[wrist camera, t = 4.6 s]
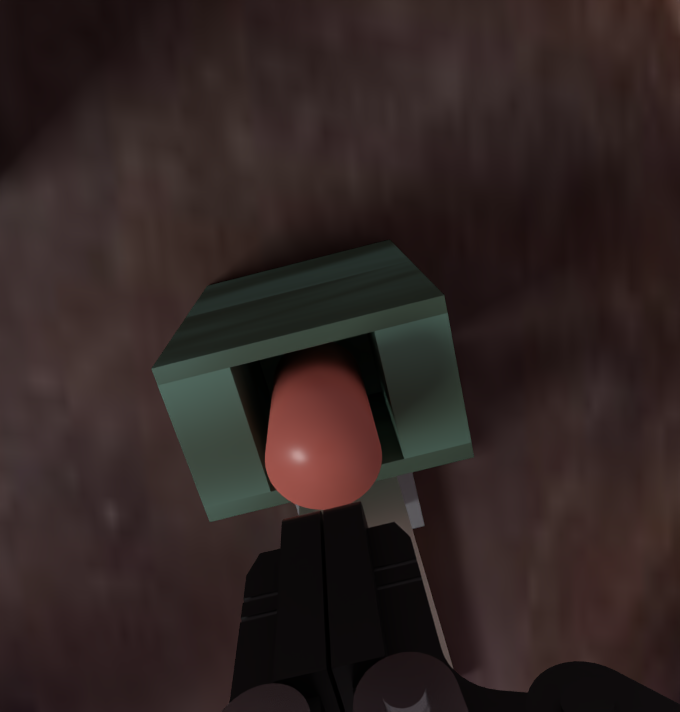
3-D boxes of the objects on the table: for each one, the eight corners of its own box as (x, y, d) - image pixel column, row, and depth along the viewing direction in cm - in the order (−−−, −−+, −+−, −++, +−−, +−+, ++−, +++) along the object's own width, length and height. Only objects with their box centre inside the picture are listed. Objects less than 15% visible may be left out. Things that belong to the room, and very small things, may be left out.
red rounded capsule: (262, 351, 18) (250, 422, 14) (350, 329, 18) (367, 393, 14) (287, 429, 19) (282, 521, 14) (369, 409, 19) (392, 494, 14)
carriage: (275, 401, 26) (235, 809, 10) (385, 373, 26) (525, 741, 10) (309, 512, 28) (322, 1000, 12) (412, 487, 28) (562, 946, 12)
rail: (207, 285, 25) (151, 368, 16) (389, 239, 25) (444, 295, 15) (345, 708, 34) (363, 926, 24) (481, 676, 33) (552, 883, 24)
